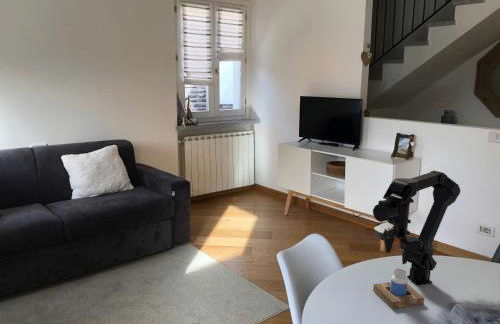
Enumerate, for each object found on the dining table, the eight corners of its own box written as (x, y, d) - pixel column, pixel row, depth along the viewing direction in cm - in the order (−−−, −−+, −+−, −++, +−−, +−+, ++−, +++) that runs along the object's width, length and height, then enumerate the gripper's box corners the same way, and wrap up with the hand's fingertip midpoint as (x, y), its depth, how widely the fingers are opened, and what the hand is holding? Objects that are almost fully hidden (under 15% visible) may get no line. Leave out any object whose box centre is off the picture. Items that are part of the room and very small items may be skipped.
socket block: (402, 286, 157) (403, 280, 157) (423, 304, 146) (424, 297, 145) (373, 290, 154) (373, 284, 154) (391, 308, 143) (392, 302, 142)
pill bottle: (406, 302, 147) (409, 276, 145) (390, 300, 148) (393, 274, 146) (404, 294, 152) (407, 268, 150) (388, 292, 153) (391, 266, 151)
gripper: (364, 209, 155) (361, 249, 158) (395, 228, 137) (391, 273, 141) (391, 206, 158) (387, 246, 162) (425, 224, 141) (420, 269, 144)
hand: (395, 258), depth 152 cm, fingers open, 9 cm apart
